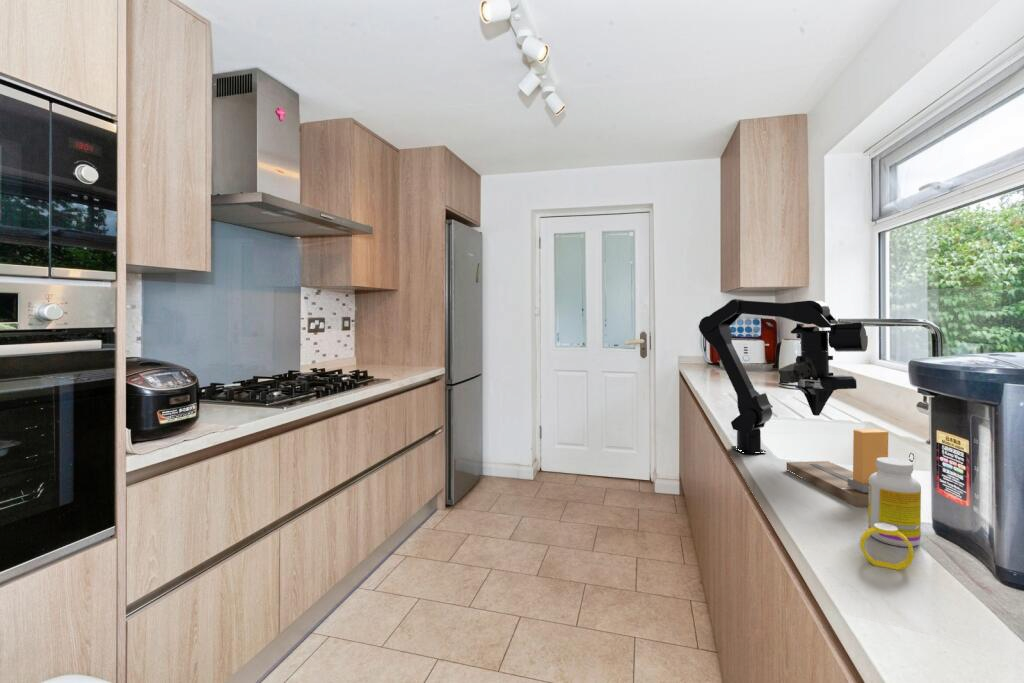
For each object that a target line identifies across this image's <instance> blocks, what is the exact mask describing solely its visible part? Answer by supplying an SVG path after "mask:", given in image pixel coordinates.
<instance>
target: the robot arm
mask: <svg viewBox="0 0 1024 683" xmlns="http://www.w3.org/2000/svg"><path fill="white" fill-rule="evenodd" d="M743 314H744V315H754V316H755V315H756V316H762V317H763V316H764V317H765V316H766V317H767V316H768V317H775V318H776V317H777V318H783V319H784V318H785V319H786V320H790V321H793V322H797V325H796V326H795V327H794V328H793V329H792V330H791V331H790V334H792V335H793V334H796V335H797V334H799V335H800V355H796V357H795V362H793V363H790V364H788V365H786V366H783V367H781V368H778V369H777V371H778V374H779V384H785V385H788V384H795V383H797V385H794V387H795V389H798V390H799V391H800V392H801V393H803V395H804V397H805V399H806V401H807V404H808V406H809V409H810V411H811V414H812V415H813V416H816V417H818V416H820V415H821V413H822V411H823V410H824V407H825V405H826V404H827V402H828V400H829V399H830V397H831V396H832V395H833V393H834V392H835V391H837V390H853V389H855V390H856V389H857V387H858V386H857V379H856V378H855V377H854V376H852V375H834V372H830V364H829V362H830V361H833V360H834V355H829V348H830V349H832V348H833V350H834V352H837V353H838V352H839V353H840V352H852V353H853V352H858V353H859V352H860V353H861V352H866V351H867V350H868V343H869V337H868V336H869V335H868V334H867V331H866V328H865V322H863V321H861V322H860V321H859V322H857V321H855V322H852V323H840V322H839V321H838V320H837V319H836V318H835V317H834V316H833V314H832V313H831V309H830V307H829V305H828V304H827V303H826V302H825V301H821V300H803V301H802V300H801V301H793V302H792V301H791V302H773V301H757V300H745V299H742V298H741V299H740V298H738V299H737V298H733V299H731V300H729V301H728V302H727V303H726V304H724V305H723V306H721V307H720V308H718V309H717V310H715V311H714V312H712V313H711V314H710V315H707V316H704V317H703V318H701V319H700V321H699V324H698V330H699V332H700V333H701V335H702V336H703V338H704V339H705V342H706V341H707V342H708V343H709V345H711V347H713V348H714V350H715V352H716V354H717V356H718V358H719V360H720V361H721V365H722V367H723V369H724V371H725V373H726V375H727V377H728V380H730V383H731V385H732V387H733V390H734V392H735V393H736V397H737V398H736V402H737V409H738V413H739V415H738V416H736V417H735V418H734V419H733V420H731V422H730V424H731V427H732V430H733V431H736V445H732V446H731V449H733V450H734V449H737V450H738V449H739V450H742V451H741V452H744V453H755V452H763V451H764V452H766V453H767V451H766V450H764V449H761V448H762V446H761V444H762V443H761V441H762V440H761V439H762V438H761V435H762V434H761V433H762V432H761V429H762V428H765V425H766V423H767V422H769V421H770V420H771V418H772V416H773V410H772V408H774V407H773V406H774V405H772V404H771V403H770V401H769V398H768V395H767V394H766V392H764V393H759V392H758V391H757V390H756V388H755V387H754V385H753V384H752V381H751V379H750V377H749V376H748V373H747V371H746V369H745V367H744V364H743V363H742V361H741V359H740V356H739V354H738V352H737V351H736V349H735V347H734V344H733V341H732V330H731V325H733V324H734V323H735V322H736V321H737V320H738V319H739V318H740V316H742V315H743ZM803 324H805V325H814V326H805V325H803ZM825 328H830V330H820V329H825ZM736 446H737V448H736Z"/></svg>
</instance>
